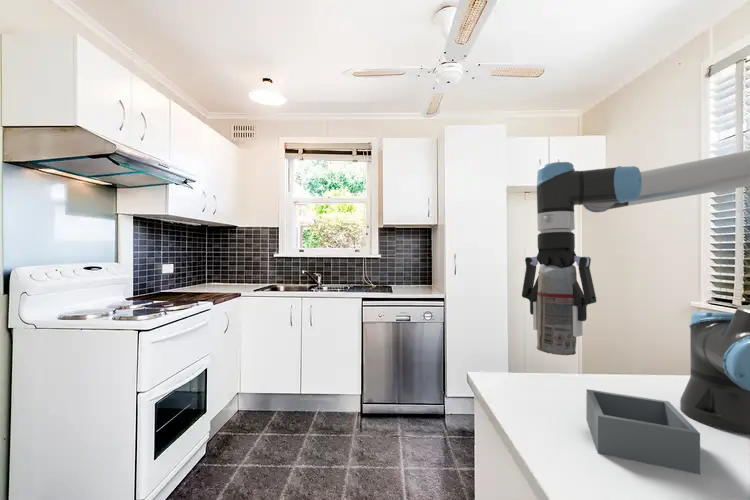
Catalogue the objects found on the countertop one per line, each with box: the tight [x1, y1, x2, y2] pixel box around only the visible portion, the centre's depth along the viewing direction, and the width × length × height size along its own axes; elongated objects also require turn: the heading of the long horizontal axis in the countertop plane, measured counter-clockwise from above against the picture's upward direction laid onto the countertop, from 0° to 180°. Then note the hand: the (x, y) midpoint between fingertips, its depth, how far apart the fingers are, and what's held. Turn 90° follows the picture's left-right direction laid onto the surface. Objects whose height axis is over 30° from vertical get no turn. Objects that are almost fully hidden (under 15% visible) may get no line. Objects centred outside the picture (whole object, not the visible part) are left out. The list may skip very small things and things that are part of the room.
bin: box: [585, 389, 701, 475], centre depth 65 cm, size 14×14×6 cm
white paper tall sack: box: [536, 264, 578, 356], centre depth 79 cm, size 8×8×20 cm
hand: (557, 332), depth 79 cm, fingers closed on white paper tall sack, 8 cm apart
